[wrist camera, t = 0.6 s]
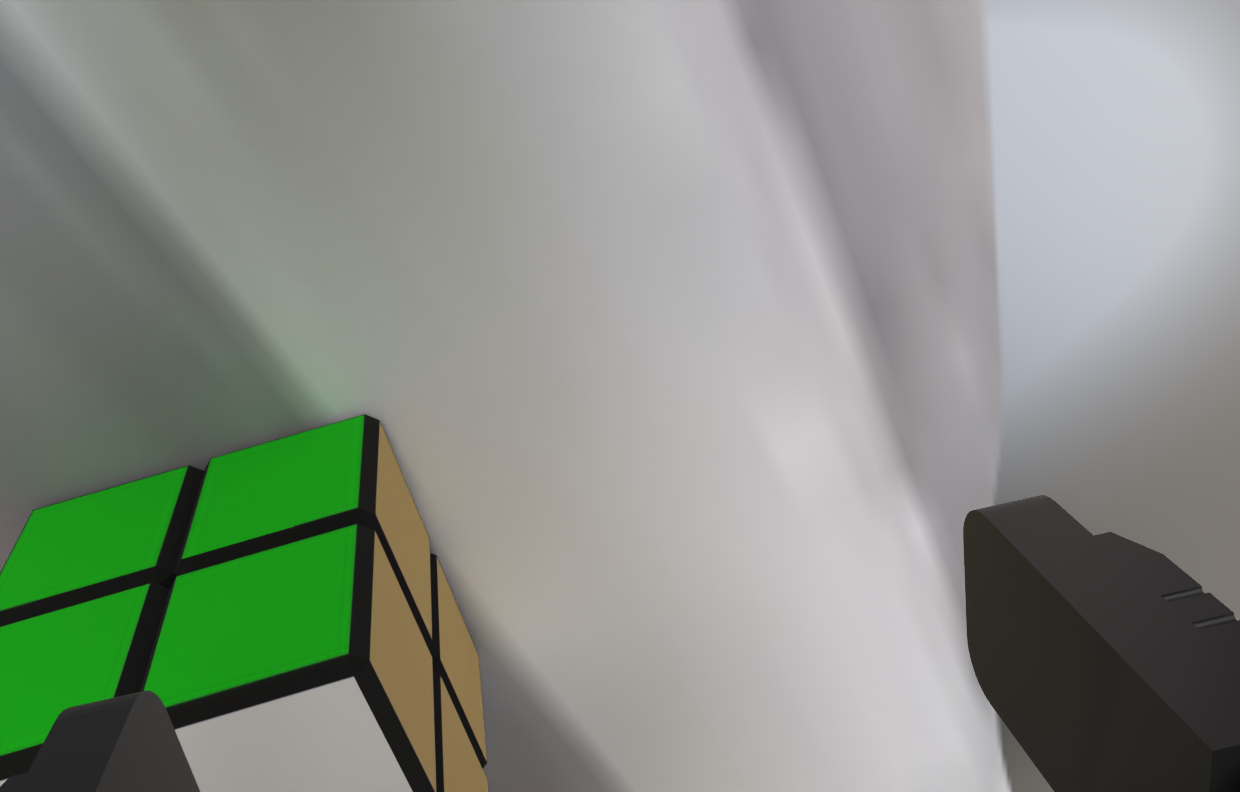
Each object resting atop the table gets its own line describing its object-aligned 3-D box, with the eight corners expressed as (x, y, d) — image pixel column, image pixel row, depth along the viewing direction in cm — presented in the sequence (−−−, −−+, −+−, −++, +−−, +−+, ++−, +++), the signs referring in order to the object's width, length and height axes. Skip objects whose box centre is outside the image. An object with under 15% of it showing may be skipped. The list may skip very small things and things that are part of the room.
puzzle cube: (184, 743, 34) (108, 1061, 26) (24, 505, 29) (-138, 807, 20) (481, 655, 34) (505, 942, 26) (376, 404, 29) (362, 660, 21)
